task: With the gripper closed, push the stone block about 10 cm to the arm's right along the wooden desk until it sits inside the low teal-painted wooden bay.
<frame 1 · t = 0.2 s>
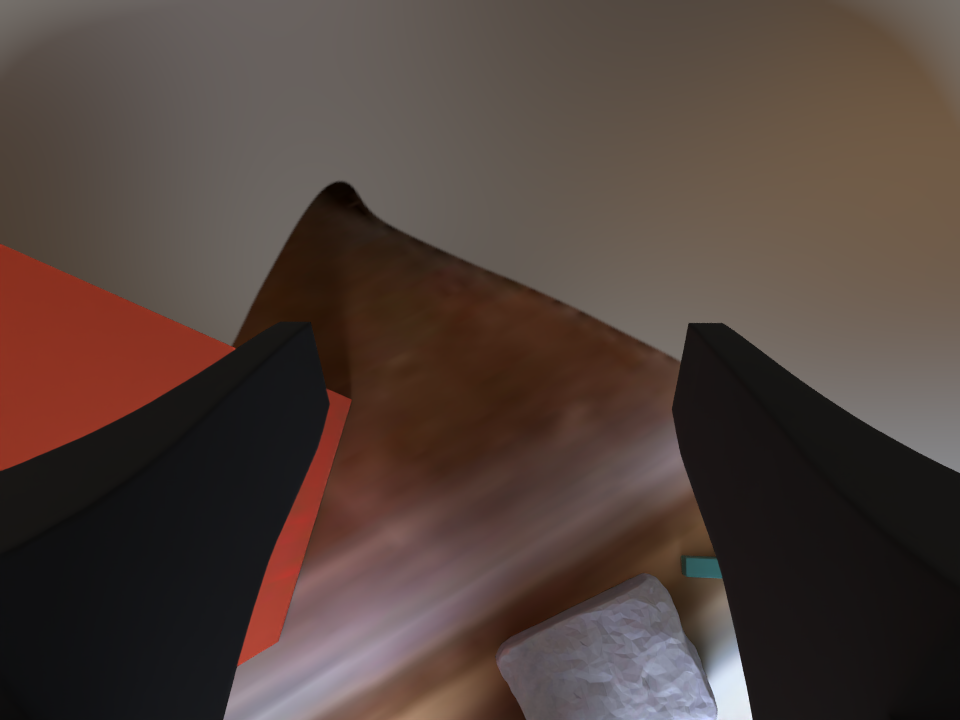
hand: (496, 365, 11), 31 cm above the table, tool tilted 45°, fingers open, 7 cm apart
file binder: (267, 500, 42), on the table
bay: (791, 686, 37), on the table
stone block: (606, 674, 38), on the table
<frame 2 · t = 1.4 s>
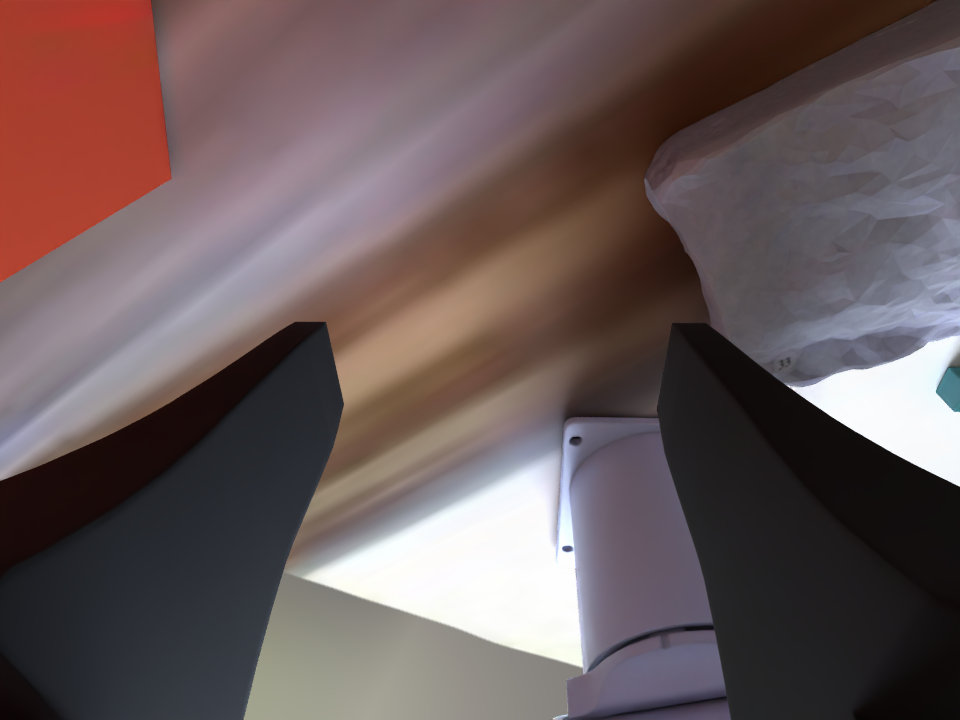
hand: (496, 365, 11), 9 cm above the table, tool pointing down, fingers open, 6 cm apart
stone block: (863, 193, 18), on the table
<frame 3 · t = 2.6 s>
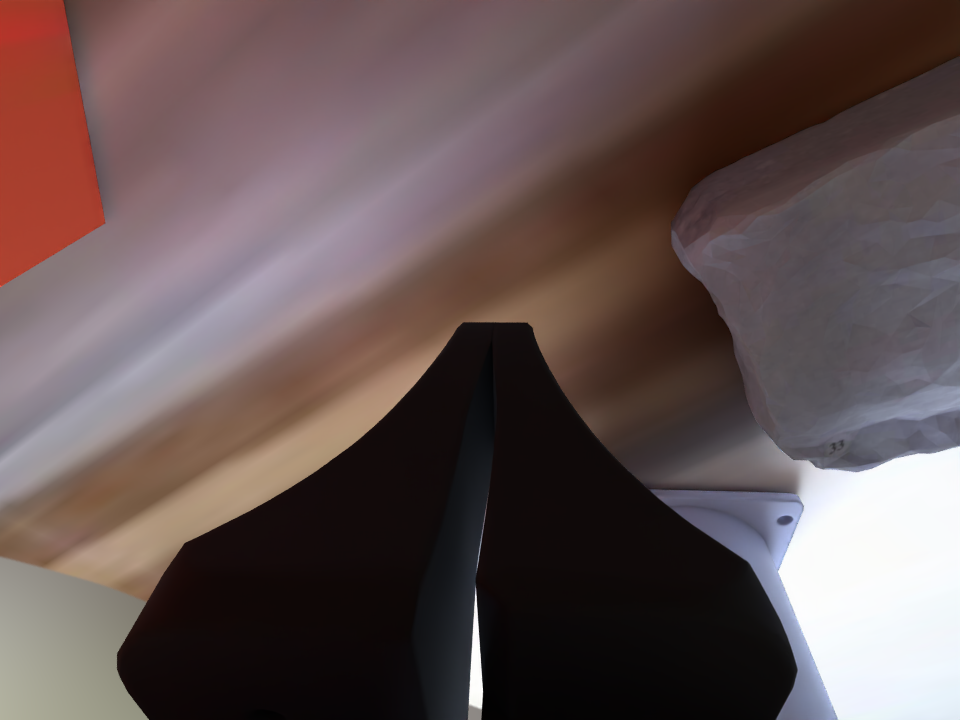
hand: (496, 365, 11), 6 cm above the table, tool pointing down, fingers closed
stone block: (932, 244, 15), on the table
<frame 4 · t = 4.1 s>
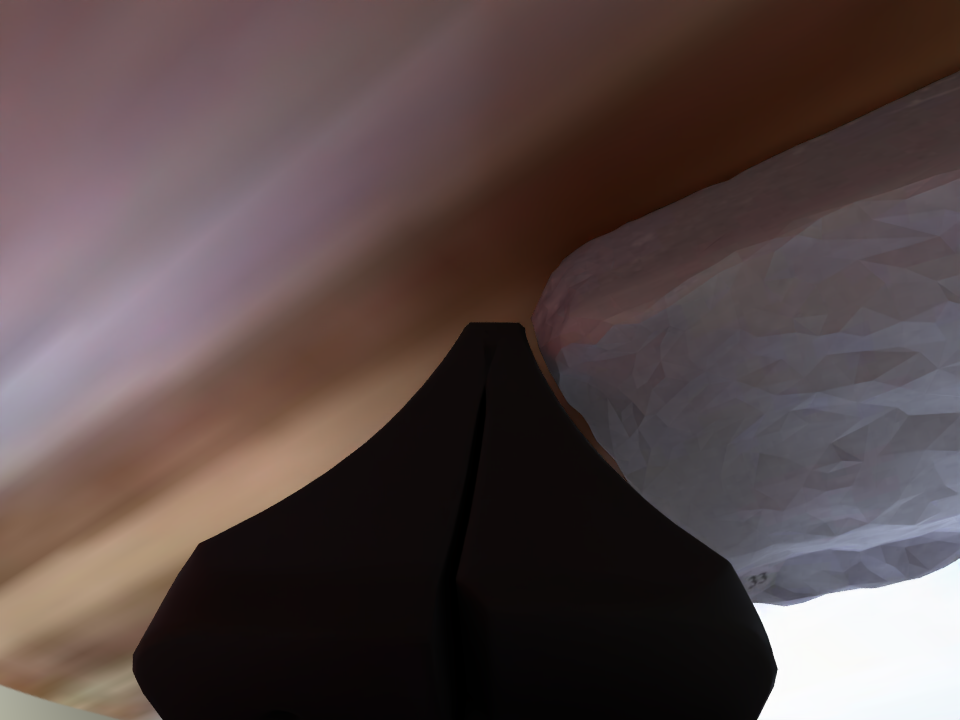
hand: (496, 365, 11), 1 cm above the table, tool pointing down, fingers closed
stone block: (879, 326, 12), on the table, touching gripper
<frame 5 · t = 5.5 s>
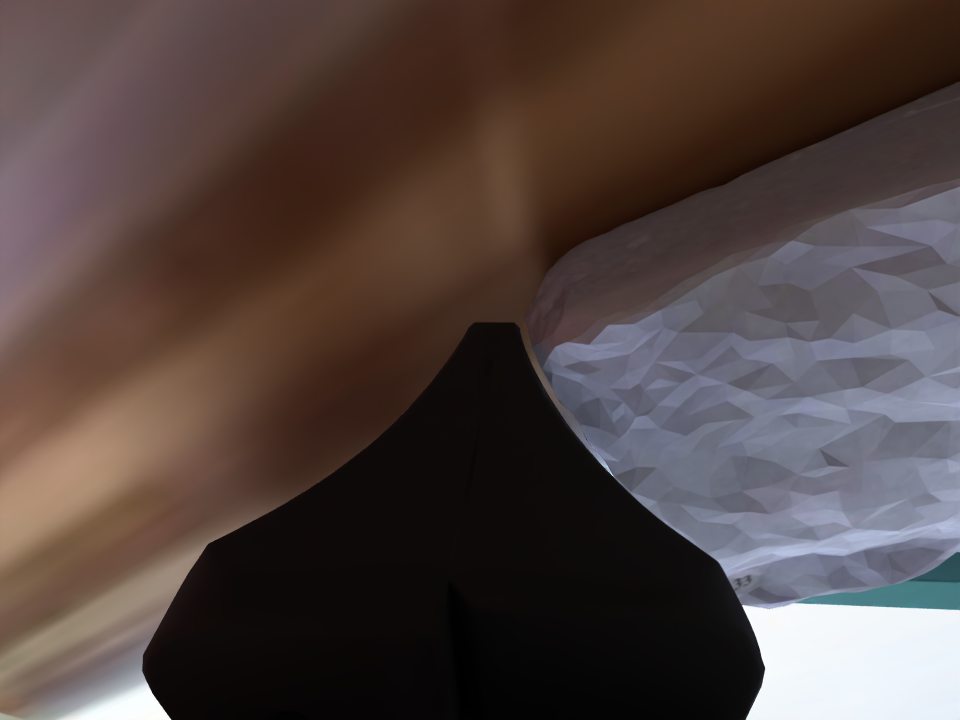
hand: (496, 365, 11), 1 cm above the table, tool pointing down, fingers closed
stone block: (868, 334, 12), on the table, touching gripper
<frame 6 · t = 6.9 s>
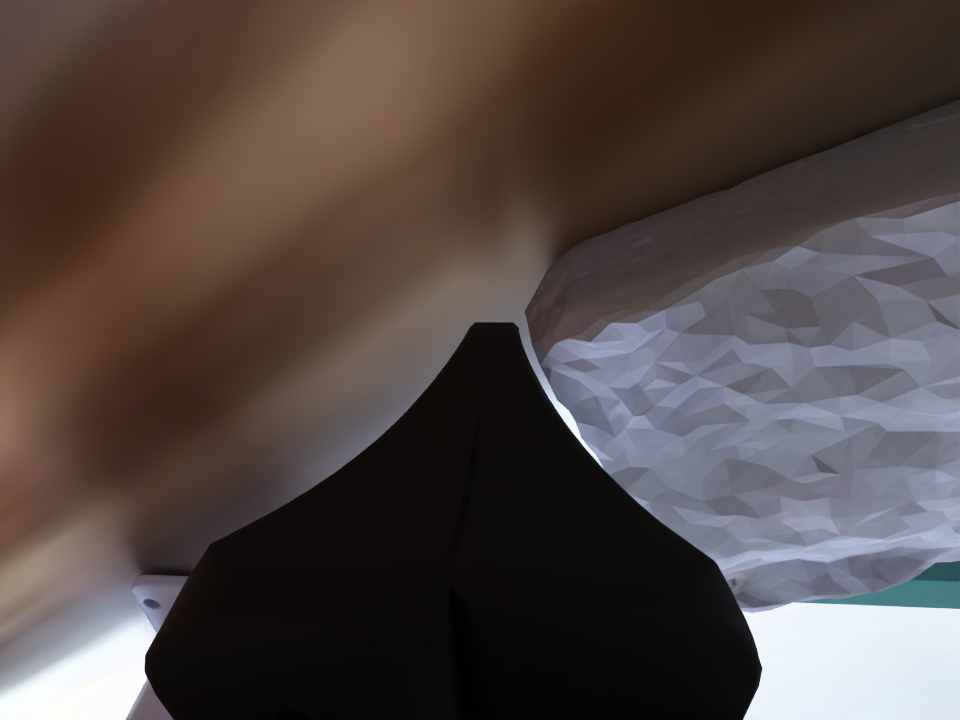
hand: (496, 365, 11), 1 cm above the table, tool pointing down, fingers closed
bay: (927, 330, 12), on the table
stone block: (860, 344, 12), on the table, touching gripper
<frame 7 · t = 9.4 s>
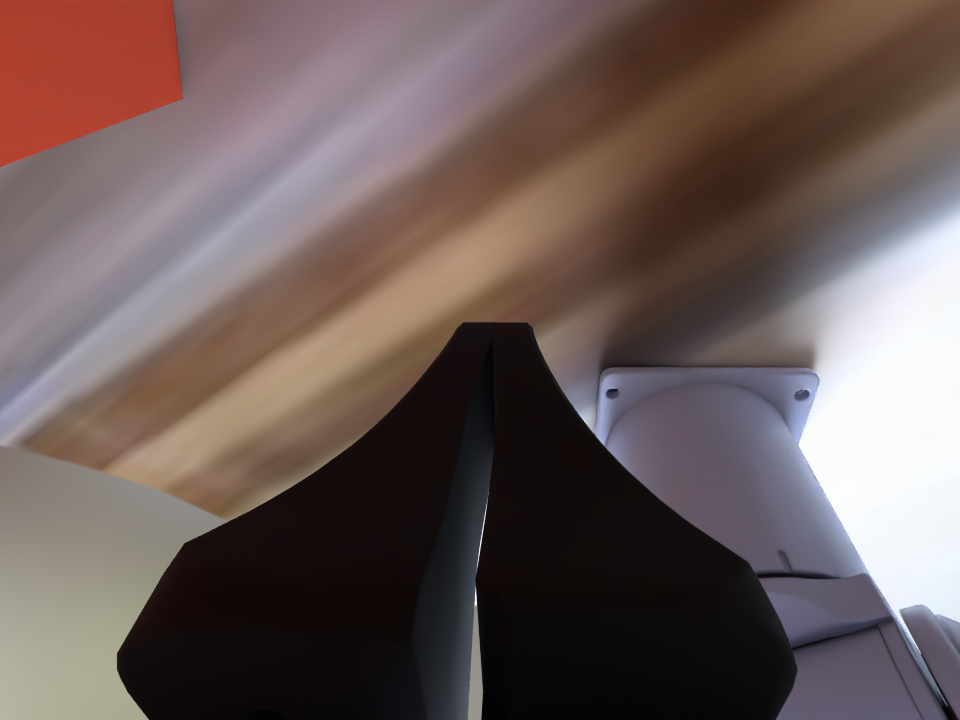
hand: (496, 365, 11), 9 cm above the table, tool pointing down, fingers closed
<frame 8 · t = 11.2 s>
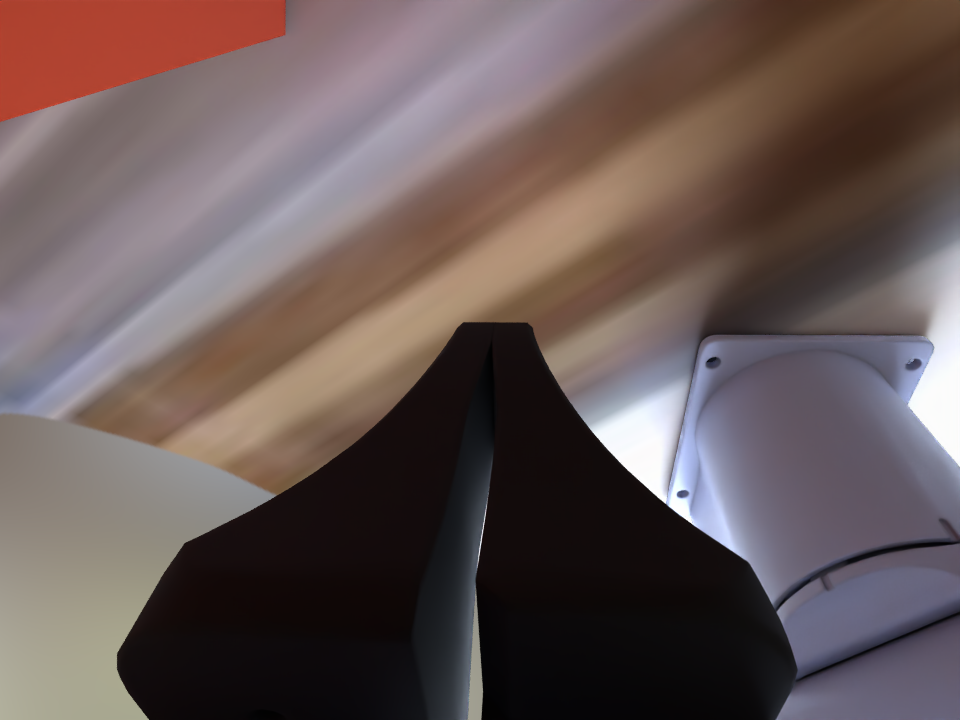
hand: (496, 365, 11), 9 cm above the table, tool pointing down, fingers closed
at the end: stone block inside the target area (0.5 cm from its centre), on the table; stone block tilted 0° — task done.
